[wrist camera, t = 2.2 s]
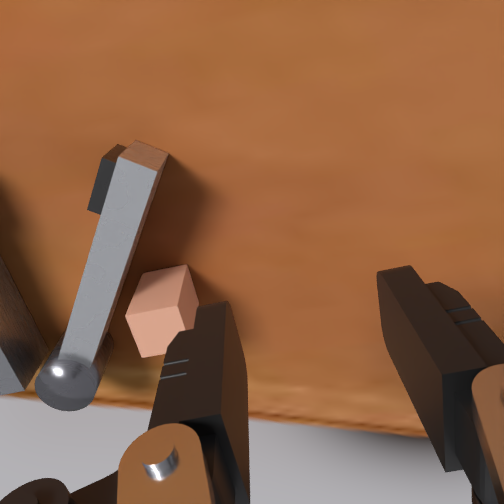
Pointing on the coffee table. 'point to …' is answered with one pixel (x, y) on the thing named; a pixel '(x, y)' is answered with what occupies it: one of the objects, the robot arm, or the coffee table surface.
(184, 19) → the coffee table surface
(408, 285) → the robot arm
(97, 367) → the arm
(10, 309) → the tongs jaw
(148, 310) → the salmon pink block
